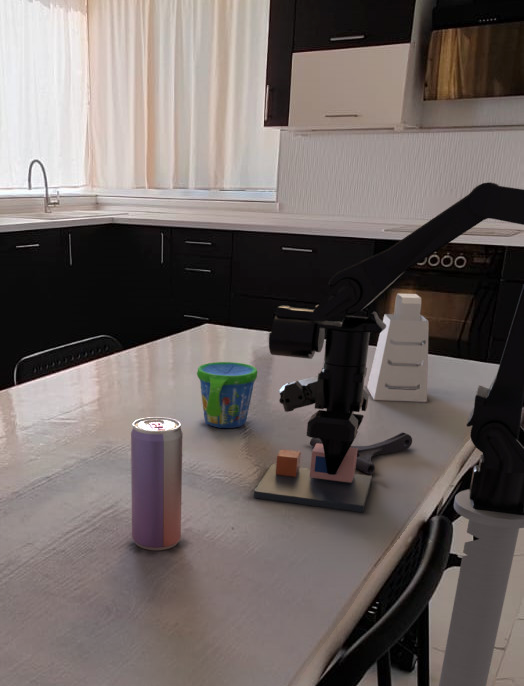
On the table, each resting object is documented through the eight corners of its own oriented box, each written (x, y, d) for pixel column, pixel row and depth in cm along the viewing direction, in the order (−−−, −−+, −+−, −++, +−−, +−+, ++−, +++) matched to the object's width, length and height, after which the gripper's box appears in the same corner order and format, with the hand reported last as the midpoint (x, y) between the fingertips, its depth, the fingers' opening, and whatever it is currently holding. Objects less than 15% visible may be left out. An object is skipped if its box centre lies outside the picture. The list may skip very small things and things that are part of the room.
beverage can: (138, 554, 91) (137, 433, 85) (127, 534, 96) (125, 418, 90) (186, 549, 92) (189, 429, 86) (173, 529, 98) (174, 414, 92)
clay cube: (299, 470, 115) (300, 451, 114) (295, 477, 112) (297, 457, 111) (279, 468, 116) (280, 449, 115) (275, 474, 113) (276, 455, 112)
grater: (416, 388, 165) (430, 292, 157) (426, 401, 155) (442, 300, 147) (367, 387, 166) (378, 291, 158) (373, 399, 156) (386, 298, 148)
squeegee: (440, 461, 122) (442, 444, 121) (365, 475, 116) (367, 457, 115) (379, 436, 134) (381, 421, 133) (309, 447, 128) (310, 431, 127)
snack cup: (235, 439, 132) (238, 381, 127) (180, 430, 136) (181, 373, 132) (267, 416, 144) (270, 362, 140) (215, 409, 149) (217, 356, 145)
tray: (371, 482, 114) (372, 475, 113) (362, 512, 103) (363, 505, 103) (271, 469, 118) (271, 463, 118) (253, 497, 108) (254, 491, 107)
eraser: (354, 473, 113) (357, 447, 111) (351, 483, 109) (354, 456, 108) (313, 468, 115) (316, 442, 113) (309, 477, 111) (311, 451, 110)
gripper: (298, 345, 116) (290, 443, 122) (273, 371, 100) (265, 483, 106) (374, 351, 113) (361, 452, 119) (360, 379, 96) (347, 494, 103)
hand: (333, 469), depth 112 cm, fingers closed on eraser, 4 cm apart
